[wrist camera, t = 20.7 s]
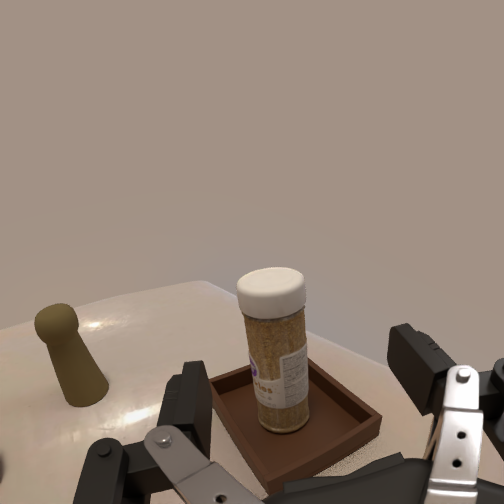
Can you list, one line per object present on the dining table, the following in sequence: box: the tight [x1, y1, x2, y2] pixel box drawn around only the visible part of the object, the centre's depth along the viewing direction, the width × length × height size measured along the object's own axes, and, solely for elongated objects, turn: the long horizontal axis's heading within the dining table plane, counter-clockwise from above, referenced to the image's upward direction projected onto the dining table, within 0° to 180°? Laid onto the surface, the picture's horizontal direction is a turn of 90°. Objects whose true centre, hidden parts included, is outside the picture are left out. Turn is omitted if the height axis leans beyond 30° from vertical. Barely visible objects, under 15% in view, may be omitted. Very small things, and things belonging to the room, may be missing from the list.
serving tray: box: [208, 358, 382, 496], centre depth 24 cm, size 13×10×3 cm
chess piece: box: [34, 304, 109, 407], centre depth 28 cm, size 6×6×11 cm
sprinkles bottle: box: [236, 267, 309, 433], centre depth 22 cm, size 5×5×13 cm
